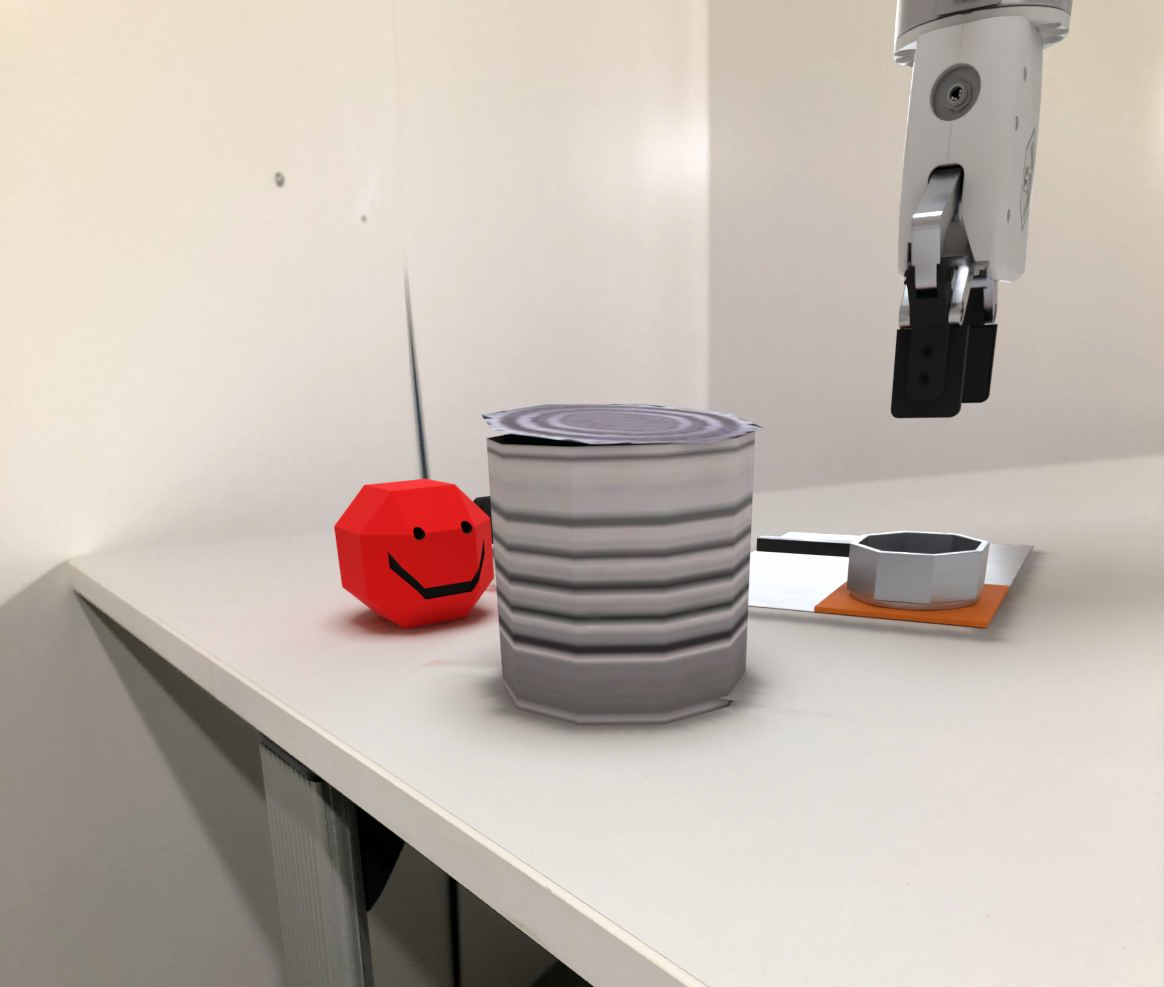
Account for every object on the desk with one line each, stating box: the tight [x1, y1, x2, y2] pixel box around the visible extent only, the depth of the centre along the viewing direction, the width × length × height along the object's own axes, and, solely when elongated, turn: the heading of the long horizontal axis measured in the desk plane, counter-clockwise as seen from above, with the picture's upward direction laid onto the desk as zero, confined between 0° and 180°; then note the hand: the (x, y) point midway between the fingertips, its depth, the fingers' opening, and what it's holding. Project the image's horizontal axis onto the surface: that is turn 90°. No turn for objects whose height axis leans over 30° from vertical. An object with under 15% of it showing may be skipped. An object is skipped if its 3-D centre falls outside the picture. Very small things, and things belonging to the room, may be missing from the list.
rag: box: [814, 581, 1010, 628], centre depth 54 cm, size 9×9×1 cm
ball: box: [333, 478, 495, 630], centre depth 55 cm, size 8×8×8 cm
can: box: [481, 403, 766, 726], centre depth 42 cm, size 11×11×12 cm
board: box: [748, 531, 1035, 630], centre depth 63 cm, size 24×18×1 cm
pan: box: [755, 530, 991, 611], centre depth 55 cm, size 13×7×3 cm, turn 61°
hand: (942, 409), depth 50 cm, fingers open, 9 cm apart
